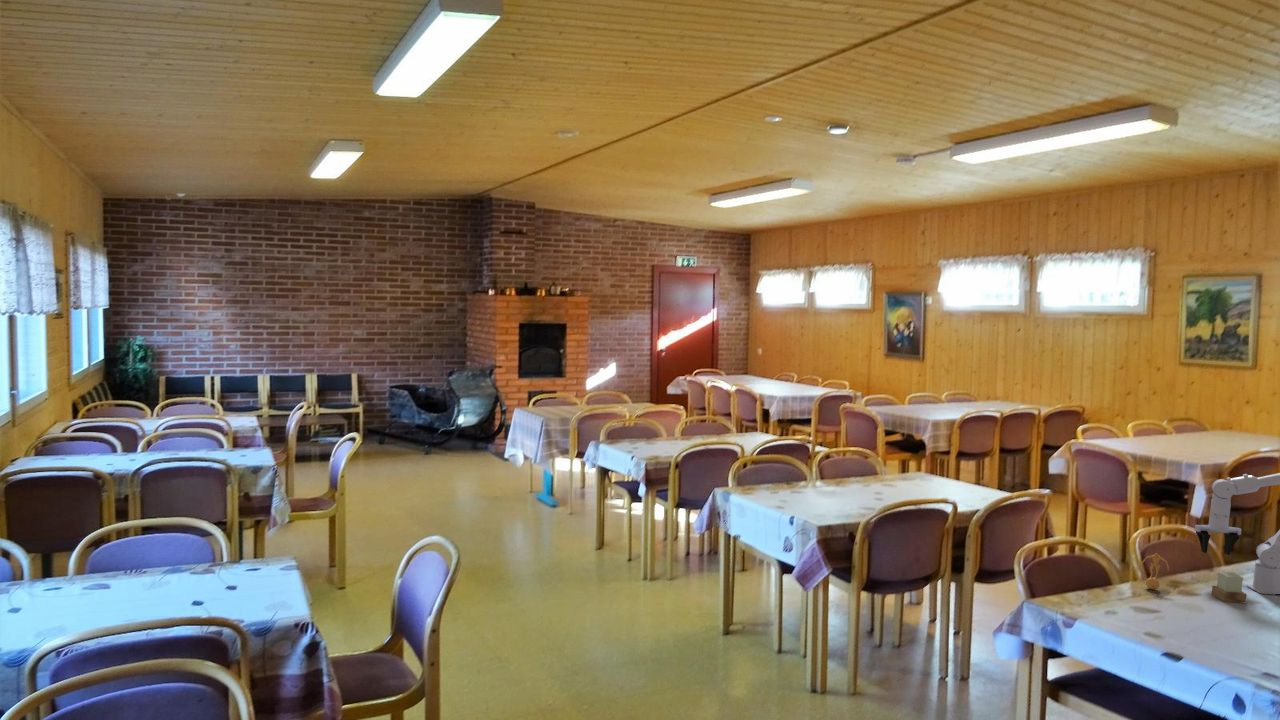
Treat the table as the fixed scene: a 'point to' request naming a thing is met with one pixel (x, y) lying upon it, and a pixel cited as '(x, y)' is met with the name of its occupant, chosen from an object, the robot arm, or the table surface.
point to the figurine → (1152, 582)
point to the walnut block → (1228, 595)
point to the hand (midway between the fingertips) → (1215, 553)
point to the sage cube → (1229, 582)
